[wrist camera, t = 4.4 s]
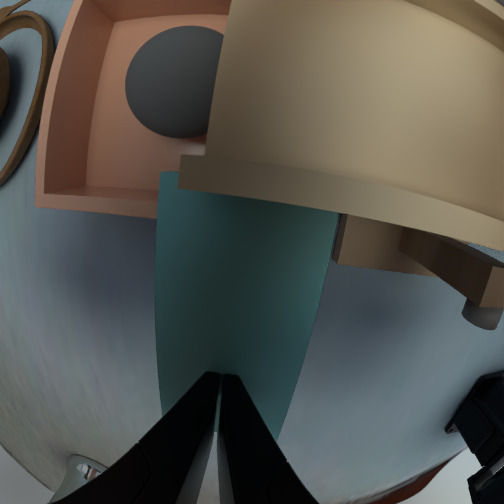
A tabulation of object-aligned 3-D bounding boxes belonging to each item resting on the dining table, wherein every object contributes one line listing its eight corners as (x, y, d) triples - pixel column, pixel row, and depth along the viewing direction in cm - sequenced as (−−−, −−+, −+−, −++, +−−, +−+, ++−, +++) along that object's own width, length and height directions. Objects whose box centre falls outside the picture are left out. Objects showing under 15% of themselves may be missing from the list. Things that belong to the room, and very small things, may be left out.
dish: (298, 19, 9) (312, -23, 6) (272, 214, 12) (279, 234, 8) (112, 19, 9) (79, -11, 5) (82, 194, 11) (35, 207, 8)
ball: (276, 23, 6) (141, -3, 5) (258, 143, 7) (110, 128, 6) (232, 58, 10) (137, 45, 8) (218, 146, 11) (119, 138, 9)
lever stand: (473, 64, 9) (557, 41, 3) (449, 273, 12) (532, 335, 6) (361, 12, 9) (426, -65, 2) (332, 257, 12) (399, 346, 6)
